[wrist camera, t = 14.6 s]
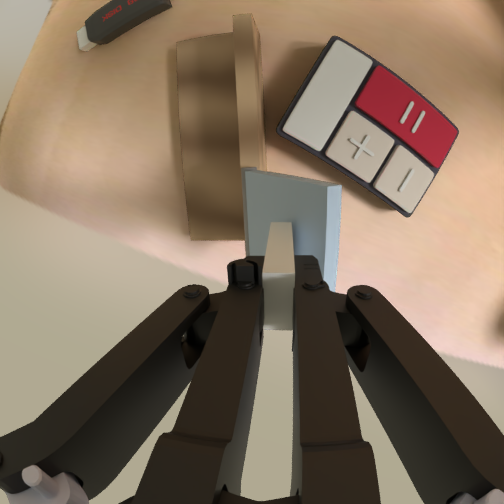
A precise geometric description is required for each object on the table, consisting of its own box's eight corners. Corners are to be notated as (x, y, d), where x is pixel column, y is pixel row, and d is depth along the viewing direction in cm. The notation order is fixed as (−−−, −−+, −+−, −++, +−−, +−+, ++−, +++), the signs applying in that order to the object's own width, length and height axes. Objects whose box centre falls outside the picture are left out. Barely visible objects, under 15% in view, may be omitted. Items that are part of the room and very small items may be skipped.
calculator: (412, 222, 23) (273, 132, 22) (396, 209, 27) (274, 132, 25) (465, 131, 19) (335, 30, 17) (443, 129, 23) (327, 44, 21)
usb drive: (173, 8, 21) (163, -1, 18) (90, 57, 24) (76, 54, 21) (164, -19, 19) (154, -28, 17) (85, 29, 22) (72, 25, 20)
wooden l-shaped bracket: (182, 45, 22) (158, 30, 17) (259, 35, 21) (251, 13, 16) (195, 235, 31) (176, 256, 25) (269, 235, 29) (263, 257, 24)
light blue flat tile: (252, 166, 21) (238, 168, 21) (343, 181, 13) (325, 182, 13) (256, 265, 25) (244, 268, 24) (332, 319, 17) (317, 326, 16)
